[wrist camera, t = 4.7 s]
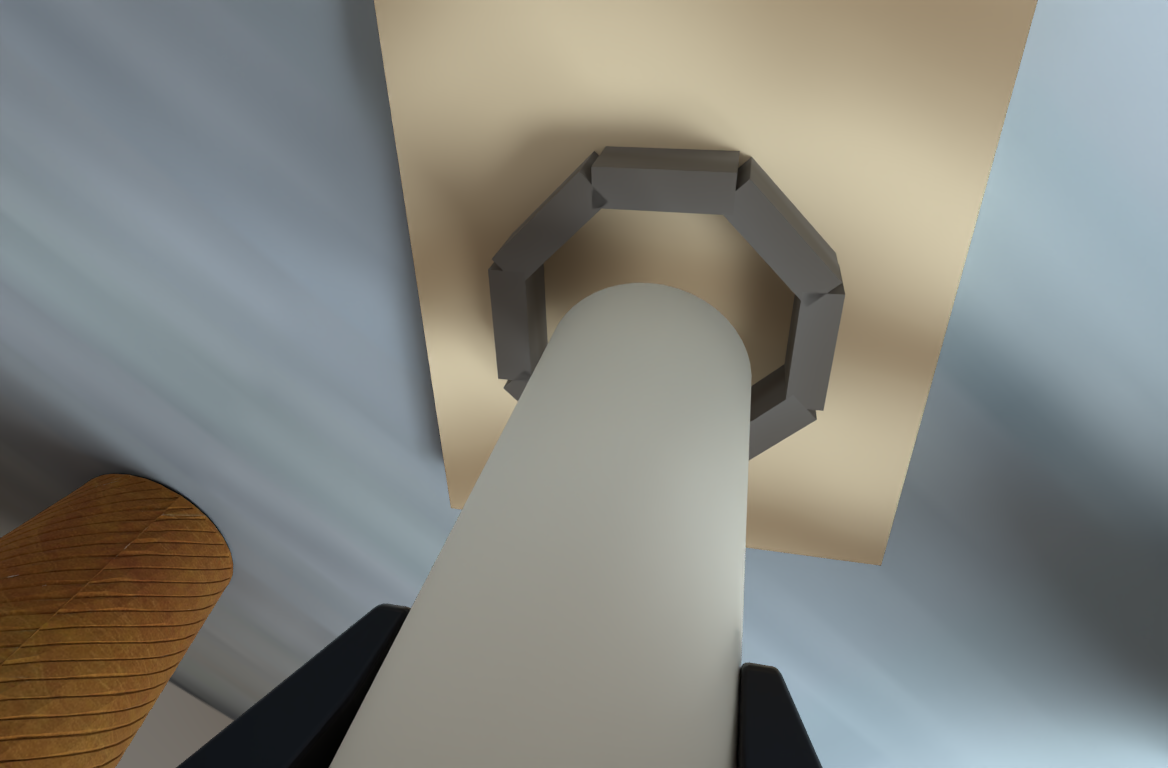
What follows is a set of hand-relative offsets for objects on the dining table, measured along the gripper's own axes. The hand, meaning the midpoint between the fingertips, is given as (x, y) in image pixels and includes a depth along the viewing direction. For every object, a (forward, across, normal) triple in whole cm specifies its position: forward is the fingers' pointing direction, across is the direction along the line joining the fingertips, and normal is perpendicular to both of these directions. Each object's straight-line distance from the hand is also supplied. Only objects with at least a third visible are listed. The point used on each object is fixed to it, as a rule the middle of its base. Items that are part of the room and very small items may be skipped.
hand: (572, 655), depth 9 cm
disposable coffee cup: (+11, +19, +12) cm, 25 cm away
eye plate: (+11, 0, 0) cm, 11 cm away
